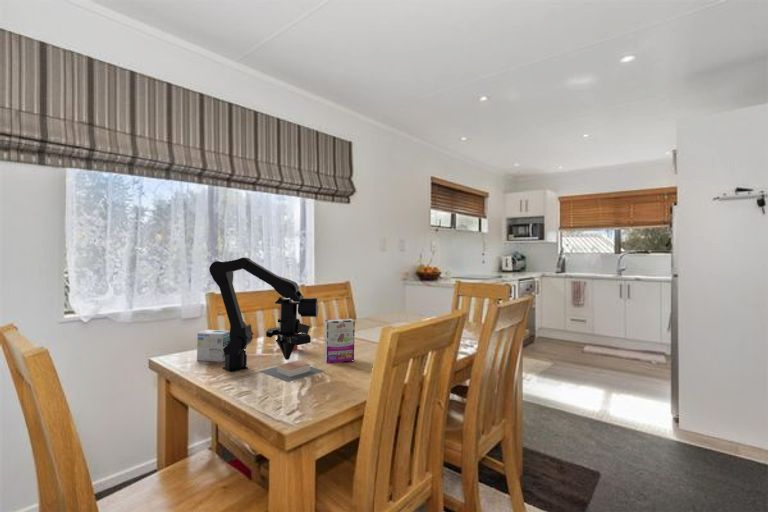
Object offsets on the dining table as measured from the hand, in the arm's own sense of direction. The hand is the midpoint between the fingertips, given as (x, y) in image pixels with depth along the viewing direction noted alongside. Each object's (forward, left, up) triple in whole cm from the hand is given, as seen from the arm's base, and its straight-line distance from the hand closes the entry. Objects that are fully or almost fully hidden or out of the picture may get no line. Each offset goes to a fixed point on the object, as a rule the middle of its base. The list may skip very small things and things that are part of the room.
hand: (287, 359), depth 137 cm
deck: (0, 0, -2) cm, 2 cm away
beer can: (+18, +22, -4) cm, 29 cm away
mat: (0, -3, -4) cm, 5 cm away
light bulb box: (-11, +31, -4) cm, 33 cm away
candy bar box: (+21, -5, -4) cm, 22 cm away
